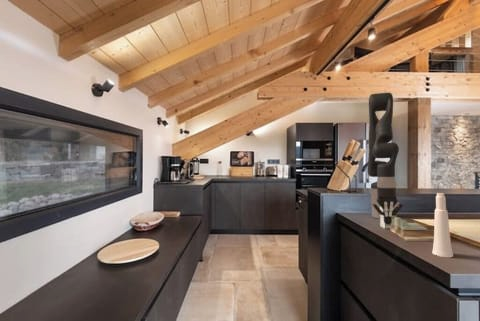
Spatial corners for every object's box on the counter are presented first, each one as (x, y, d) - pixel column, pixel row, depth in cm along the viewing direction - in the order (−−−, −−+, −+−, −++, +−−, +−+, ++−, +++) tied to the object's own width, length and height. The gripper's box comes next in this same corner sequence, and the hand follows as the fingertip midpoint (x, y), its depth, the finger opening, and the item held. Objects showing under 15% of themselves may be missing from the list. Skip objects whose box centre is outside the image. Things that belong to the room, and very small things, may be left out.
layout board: (390, 230, 127) (389, 223, 127) (428, 230, 124) (428, 223, 124) (406, 240, 110) (406, 232, 110) (451, 241, 108) (451, 233, 108)
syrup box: (391, 226, 135) (390, 198, 135) (397, 229, 129) (396, 199, 129) (379, 226, 135) (378, 198, 135) (385, 229, 129) (384, 200, 129)
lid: (394, 224, 123) (393, 216, 123) (416, 224, 121) (415, 216, 121) (403, 229, 114) (403, 221, 114) (427, 230, 112) (427, 221, 112)
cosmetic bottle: (442, 251, 97) (439, 192, 97) (458, 256, 91) (455, 194, 91) (427, 252, 96) (425, 192, 96) (443, 258, 90) (440, 194, 90)
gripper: (398, 185, 122) (399, 222, 122) (368, 185, 124) (369, 222, 124) (406, 187, 114) (407, 226, 114) (373, 187, 117) (375, 226, 116)
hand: (387, 224), depth 119 cm, fingers closed
